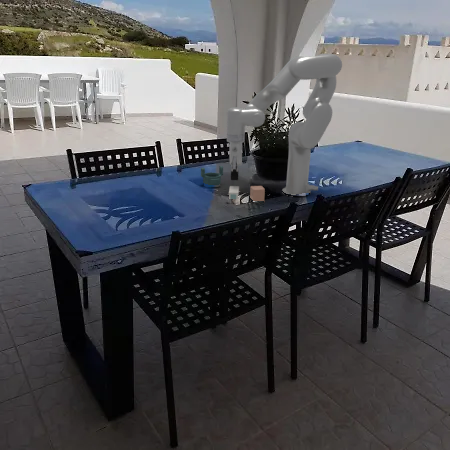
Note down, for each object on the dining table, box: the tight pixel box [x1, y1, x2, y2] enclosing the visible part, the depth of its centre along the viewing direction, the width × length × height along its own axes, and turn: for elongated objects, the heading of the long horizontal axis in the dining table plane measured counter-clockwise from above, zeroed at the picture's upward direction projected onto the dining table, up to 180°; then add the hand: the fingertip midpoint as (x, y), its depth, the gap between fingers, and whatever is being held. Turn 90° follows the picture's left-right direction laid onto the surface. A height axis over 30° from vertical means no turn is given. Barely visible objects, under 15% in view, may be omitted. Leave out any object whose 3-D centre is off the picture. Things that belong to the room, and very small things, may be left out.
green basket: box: [200, 165, 224, 185], centre depth 206 cm, size 9×9×9 cm
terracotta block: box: [249, 185, 266, 202], centre depth 186 cm, size 5×5×6 cm
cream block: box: [228, 185, 240, 199], centre depth 189 cm, size 4×4×9 cm
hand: (234, 179), depth 191 cm, fingers closed
